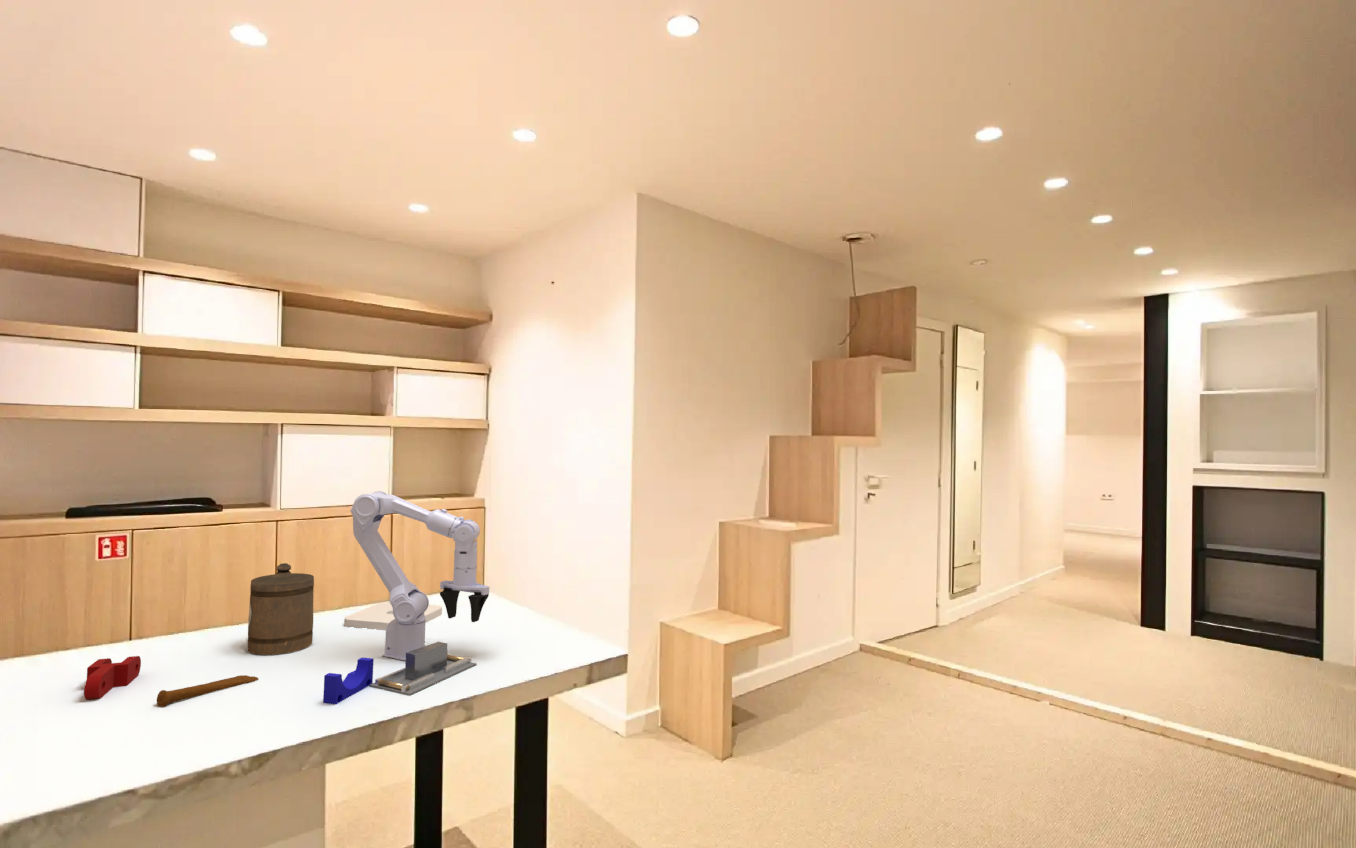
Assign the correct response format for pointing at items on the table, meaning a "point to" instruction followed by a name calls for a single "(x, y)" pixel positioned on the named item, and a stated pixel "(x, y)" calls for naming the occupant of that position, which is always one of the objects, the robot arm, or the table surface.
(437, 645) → the dark gray rectangular chunk
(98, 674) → the mechanical linkage
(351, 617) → the tapered beige board
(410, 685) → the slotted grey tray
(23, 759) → the table surface
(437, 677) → the grey slide base plate
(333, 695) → the blue cradle bracket
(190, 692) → the primitive tool
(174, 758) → the table surface
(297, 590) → the wooden container
